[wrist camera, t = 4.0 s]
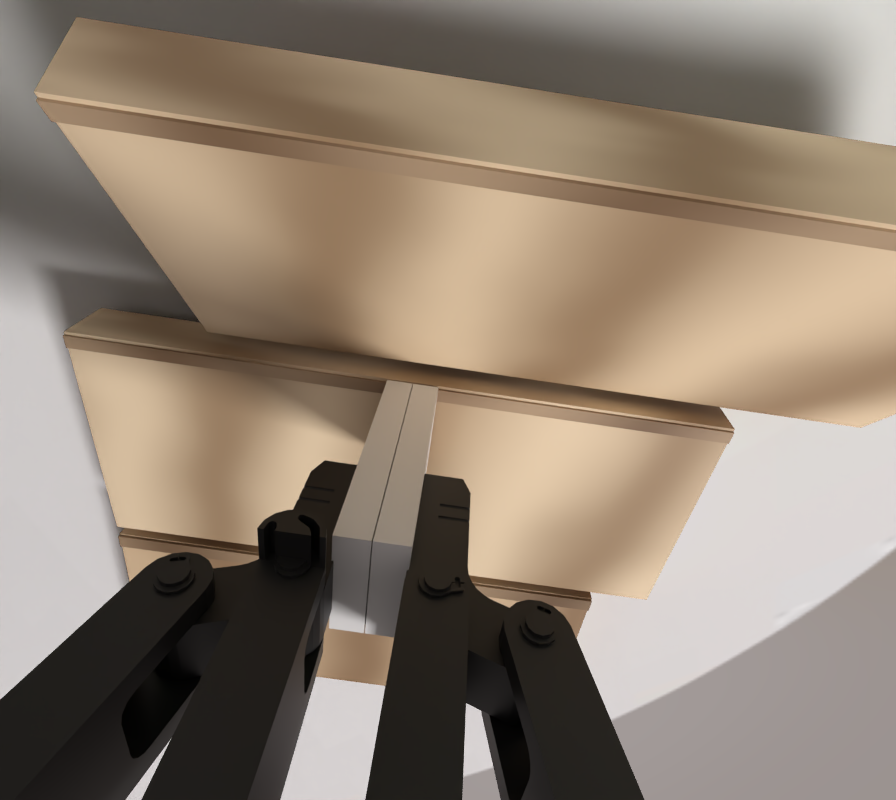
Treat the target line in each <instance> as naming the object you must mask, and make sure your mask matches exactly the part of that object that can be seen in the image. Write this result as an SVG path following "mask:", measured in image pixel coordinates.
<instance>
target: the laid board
mask: <svg viewBox="0 0 896 800" xmlns="http://www.w3.org/2000/svg"><path fill="white" fill-rule="evenodd" d="M118 538H119V542H120V546H121V547H123V552H124V557H125V562H126V567H127V571H128V576H129V581H131V580H132V579H133V578H134V577H135V576H136V575H137V574H138V573H139V572H141V571H142V570H143V569H144V568H145V567H146V566H148V565H149V564H151V563H152V562H154V561H155V560H156V559H158V558H161V557H164V556H166V555H169V554H172V553H180V552H190V553H196V554H200V555H202V556H203V557H205V558H206V559H208V560H209V561H210V563H211V565H212V567H213V568H220V567H229V566H237V565H242V564H247V563H250V562H253V561H255V560H258V559H259V551H258V546H254V545H247V544H240V543H232V542H225V541H218V540H211V539H203V538H196V537H189V536H182V535H175V534H167V533H160V532H153V531H146V530H138V529H131V528H124V529H123V530H122V532H121V533H120V535H119V536H118ZM469 576H470V579H471V581H472V583H473V584H474V585H475V587H476V588H477V589H478V590H479V591H480V592H481V593H482V594H484V595H485V596H486V597H488V598H490V599H492V600H493V601H496V602H498V603H500V604H502V605H505V606H507V607H509V608H510V607H511V606H513V605H514V604H515V603H516V602H520V601H524V600H537V601H542V602H544V603H547V604H549V605H551V606H554V607H555V608H556V609H557V610H558V611H560V612H561V613H562V614H563V615H564V616H565V617H566V619H567V621H568V622H569V624H570V625H571V627H572V629H573V632H574V634H575V636H576V638H577V636H578V633H579V630H580V628H581V625H582V623H583V620H584V617H585V615H586V612H587V611H588V610H589V608H590V605H591V602H592V601H591V594H590V592H587V591H580V590H573V589H565V588H558V587H551V586H544V585H536V584H529V583H522V582H515V581H507V580H500V579H493V578H486V577H478V576H471V575H469ZM365 627H366V625H365ZM393 641H394V637H387V636H380V635H373V634H366V633H365V630H364V633H359V632H352V631H344V630H337V629H330V628H329V620H328V623H327V626H326V630H325V633H324V643H323V654H322V657H321V661H320V664H319V667H318V671H317V674H316V677H324V678H331V679H339V680H346V681H354V682H361V683H369V684H376V685H384V686H386V681H387V675H388V669H389V664H390V658H391V653H392V647H393Z"/></svg>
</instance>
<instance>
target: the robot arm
mask: <svg viewBox="0 0 896 800" xmlns="http://www.w3.org/2000/svg"><path fill="white" fill-rule="evenodd" d="M437 394H438V387H432V386H425V385H419V384H413V387H412V383H405V382H398V381H391V380H387V382H386V385H385V388H384V391H383V394H382V396H381V399H380V402H379V405H378V408H377V411H376V413H375V416H374V419H373V422H372V425H371V428H370V430H369V433H368V436H367V439H366V442H365V445H364V447H363V450H362V453H361V456H360V459H359V462H358V464H357V465H354V464H347V463H340V462H333V461H326V460H325V461H323V462H322V463H321V464H320V465H318V466H317V467H316V468H315V469H313V470H312V471H311V472H310V475H309V477H308V479H307V481H306V483H305V485H304V488H303V489H302V491H301V494H300V496H299V499H298V500H297V502H296V504H295V506H294V508H293V510H286V511H282V512H278V513H275V514H273V515H271V516H270V517H268V518H266V519H264V521H263V522H262V523H261V524H260V525H259V527H258V528H257V533H258V551H259V559H258V560H255V561H253V562H250V563H247V564H242V565H237V566H229V567H220V568H213V567H212V565H211V563H210V561H209V560H208V559H206V558H205V557H203V556H202V555H200V554H196V553H190V552H180V553H172V554H169V555H166V556H164V557H161V558H158V559H156V560H155V561H154V562H152V563H151V564H149V565H148V566H146V567H145V568H144V569H143V570H142V571H141V572H139V573H138V574H137V575H136V576H135V577H134V578H133V579H132V580H131V581H130V582H128V583H127V584H126V585H125V586H124V587H123V588H122V589H121V590H120V591H119V592H118V593H116V594H115V595H114V596H113V597H112V598H111V599H110V600H109V601H108V602H107V603H106V604H104V605H103V606H102V607H101V608H100V609H99V610H98V611H97V612H96V613H95V614H93V615H92V616H91V617H90V618H89V619H88V620H87V621H86V622H85V623H84V624H83V625H81V626H80V627H79V628H78V629H77V630H76V631H75V632H74V633H73V634H72V635H71V636H69V637H68V638H67V639H66V640H65V641H64V642H63V643H62V644H61V645H60V646H58V647H57V648H56V649H55V650H54V651H53V652H52V653H51V654H50V655H49V656H48V657H46V658H45V659H44V660H43V661H42V662H41V663H40V664H39V665H38V666H37V667H36V668H34V669H33V670H32V671H31V672H30V673H29V674H28V675H27V676H26V677H25V678H23V679H22V680H21V681H20V682H19V683H18V684H17V685H16V686H15V687H14V688H13V689H11V690H10V691H9V692H8V693H7V694H6V695H5V696H4V697H3V698H2V699H1V700H0V800H125V799H126V798H127V797H128V795H129V794H130V793H131V791H132V790H133V789H134V787H135V786H136V785H137V783H138V782H139V781H140V779H141V778H142V777H143V775H144V774H145V773H146V771H147V770H148V769H149V767H150V766H151V765H152V763H153V762H154V761H155V759H156V758H157V757H158V755H159V754H160V753H161V751H162V750H163V749H164V747H165V746H166V745H167V743H168V742H169V741H170V742H169V745H168V747H167V749H166V751H165V753H164V755H163V757H162V759H161V761H160V763H159V765H158V767H157V769H156V771H155V773H154V775H153V777H152V779H151V781H150V783H149V786H148V788H147V790H146V792H145V794H144V796H143V798H142V800H280V798H281V795H282V792H283V788H284V785H285V781H286V778H287V774H288V771H289V767H290V764H291V761H292V757H293V754H294V750H295V747H296V743H297V740H298V736H299V733H300V730H301V726H302V723H303V719H304V716H305V712H306V709H307V705H308V702H309V698H310V695H311V692H312V688H313V685H314V681H315V678H316V674H317V671H318V667H319V664H320V661H321V657H322V654H323V643H324V633H325V630H326V626H327V623H328V620H329V628H330V629H337V630H344V631H352V632H359V633H364V630H365V633H366V634H373V635H380V636H387V637H394V641H393V647H392V653H391V658H390V664H389V669H388V675H387V681H386V686H385V692H384V698H383V703H382V709H381V715H380V720H379V726H378V732H377V737H376V743H375V749H374V754H373V760H372V766H371V771H370V777H369V782H368V788H367V794H366V799H365V800H462V789H463V763H464V737H465V711H466V703H467V704H469V705H471V706H473V707H475V708H477V709H479V710H481V711H482V717H483V722H484V726H485V731H486V735H487V740H488V744H489V749H490V753H491V758H492V762H493V766H494V770H495V775H496V780H497V784H498V789H499V793H500V798H501V800H644V798H643V795H642V793H641V790H640V788H639V786H638V783H637V781H636V779H635V776H634V774H633V772H632V769H631V767H630V765H629V762H628V760H627V757H626V755H625V753H624V750H623V748H622V746H621V744H620V741H619V739H618V736H617V734H616V731H615V729H614V727H613V724H612V722H611V719H610V717H609V715H608V712H607V710H606V708H605V705H604V703H603V700H602V698H601V696H600V693H599V691H598V689H597V686H596V684H595V681H594V679H593V677H592V674H591V672H590V670H589V667H588V665H587V663H586V660H585V658H584V655H583V653H582V651H581V648H580V646H579V644H578V641H577V639H576V636H575V634H574V632H573V629H572V627H571V625H570V624H569V622H568V621H567V619H566V617H565V616H564V615H563V614H562V613H561V612H560V611H558V610H557V609H556V608H555V607H554V606H551V605H549V604H547V603H544V602H542V601H537V600H524V601H520V602H516V603H515V604H514V605H513V606H511V607H510V608H509V607H507V606H505V605H502V604H500V603H498V602H496V601H493V600H492V599H490V598H488V597H486V596H485V595H484V594H482V593H481V592H480V591H479V590H478V589H477V588H476V587H475V585H474V584H473V583H472V581H471V579H470V576H469V573H468V548H469V520H470V496H471V493H470V491H469V489H468V487H467V485H466V484H465V482H464V480H463V479H459V478H452V477H445V476H439V475H432V474H426V471H427V464H428V458H429V451H430V444H431V437H432V429H433V422H434V415H435V408H436V401H437ZM365 625H366V627H365ZM170 739H171V740H170Z"/></svg>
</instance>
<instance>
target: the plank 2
mask: <svg viewBox="0 0 896 800" xmlns="http://www.w3.org/2000/svg"><path fill="white" fill-rule="evenodd" d="M63 338H64V342H65V345H66V348H68V349H69V353H70V357H71V360H72V364H73V368H74V371H75V375H76V378H77V382H78V386H79V389H80V393H81V397H82V400H83V404H84V408H85V411H86V415H87V418H88V422H89V426H90V429H91V433H92V437H93V440H94V444H95V448H96V451H97V455H98V459H99V462H100V466H101V469H102V473H103V477H104V480H105V484H106V488H107V491H108V495H109V499H110V502H111V506H112V509H113V513H114V517H115V520H116V524H117V527H124V528H131V529H138V530H146V531H153V532H160V533H167V534H175V535H182V536H189V537H196V538H203V539H211V540H218V541H225V542H232V543H240V544H247V545H254V546H258V533H257V528H258V527H259V525H260V524H261V523H262V522H263V521H264V519H266V518H268V517H270V516H271V515H273V514H275V513H278V512H282V511H286V510H293V508H294V506H295V504H296V502H297V500H298V499H299V496H300V494H301V491H302V489H303V488H304V485H305V483H306V481H307V479H308V477H309V475H310V472H311V471H312V470H313V469H315V468H316V467H317V466H318V465H320V464H321V463H322V462H323V461H325V460H326V461H333V462H340V463H347V464H354V465H357V464H358V462H359V459H360V456H361V453H362V450H363V447H364V445H365V442H366V439H367V436H368V433H369V430H370V428H371V425H372V422H373V419H374V416H375V413H376V411H377V408H378V405H379V402H380V399H381V396H382V394H383V391H384V388H385V385H386V382H387V380H391V381H398V382H405V383H412V387H413V384H419V385H425V386H432V387H438V394H437V401H436V408H435V415H434V422H433V429H432V437H431V444H430V451H429V458H428V464H427V471H426V474H432V475H439V476H445V477H452V478H459V479H463V480H464V482H465V484H466V485H467V487H468V489H469V491H470V493H471V496H470V520H469V548H468V573H469V575H471V576H478V577H486V578H493V579H500V580H507V581H515V582H522V583H529V584H536V585H544V586H551V587H558V588H565V589H573V590H580V591H587V592H594V593H602V594H609V595H616V596H623V597H630V598H638V599H645V600H647V598H648V596H649V594H650V592H651V590H652V588H653V586H654V584H655V582H656V580H657V578H658V577H659V575H660V573H661V571H662V569H663V567H664V565H665V563H666V561H667V559H668V557H669V555H670V553H671V551H672V549H673V547H674V546H675V544H676V542H677V540H678V538H679V536H680V534H681V532H682V530H683V528H684V526H685V524H686V522H687V520H688V518H689V516H690V515H691V513H692V511H693V509H694V507H695V505H696V503H697V501H698V499H699V497H700V495H701V493H702V491H703V489H704V487H705V486H706V484H707V482H708V480H709V478H710V476H711V474H712V472H713V470H714V468H715V466H716V464H717V462H718V460H719V458H720V456H721V455H722V453H723V451H724V449H725V447H726V445H727V444H729V442H730V440H731V438H732V436H733V434H734V432H733V431H734V428H733V426H732V425H731V423H730V422H729V420H728V419H727V417H726V416H725V414H724V413H723V412H722V410H721V409H720V407H716V406H709V405H703V404H696V403H689V402H682V401H675V400H668V399H662V398H655V397H648V396H641V395H634V394H627V393H621V392H614V391H607V390H600V389H593V388H586V387H580V386H573V385H566V384H559V383H552V382H545V381H539V380H532V379H525V378H518V377H511V376H504V375H498V374H491V373H484V372H477V371H470V370H463V369H457V368H450V367H443V366H436V365H429V364H422V363H416V362H409V361H402V360H395V359H388V358H381V357H375V356H368V355H361V354H354V353H347V352H340V351H334V350H327V349H320V348H313V347H306V346H300V345H293V344H286V343H279V342H272V341H265V340H259V339H252V338H245V337H238V336H231V335H224V334H218V333H211V332H207V331H206V329H205V328H204V327H203V325H202V324H201V323H200V322H194V321H187V320H180V319H174V318H167V317H160V316H153V315H146V314H140V313H133V312H126V311H119V310H112V309H106V308H100V309H98V310H97V311H95V312H94V313H92V314H91V315H89V316H87V317H86V318H84V319H83V320H81V321H79V322H78V323H76V324H75V325H73V326H72V327H70V328H68V329H67V330H65V331H64V335H63Z"/></svg>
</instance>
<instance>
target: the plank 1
mask: <svg viewBox="0 0 896 800" xmlns="http://www.w3.org/2000/svg"><path fill="white" fill-rule="evenodd" d="M34 93H35V94H36V96H37V97H38V98H37V99H36V101H37V103H38V104H39V105H40V107H41V108H42V109H43V111H44V112H45V113H46V115H47V116H48V118H49V119H50V120H51V121H52V122H56V123H57V125H58V126H59V127H60V129H61V130H62V132H63V133H64V134H65V136H66V137H67V138H68V140H69V141H70V143H71V144H72V145H73V147H74V148H75V150H76V151H77V152H78V154H79V155H80V156H81V158H82V159H83V161H84V162H85V163H86V165H87V166H88V168H89V169H90V170H91V172H92V173H93V174H94V176H95V177H96V179H97V180H98V181H99V183H100V184H101V186H102V187H103V188H104V190H105V191H106V192H107V194H108V195H109V197H110V198H111V199H112V201H113V202H114V204H115V205H116V206H117V208H118V209H119V210H120V212H121V213H122V215H123V216H124V217H125V219H126V220H127V222H128V223H129V224H130V226H131V227H132V228H133V230H134V231H135V233H136V234H137V235H138V237H139V238H140V240H141V241H142V242H143V244H144V245H145V246H146V248H147V249H148V251H149V252H150V253H151V255H152V256H153V258H154V259H155V260H156V262H157V263H158V264H159V266H160V267H161V269H162V270H163V271H164V273H165V274H166V276H167V277H168V278H169V280H170V281H171V282H172V284H173V285H174V287H175V288H176V289H177V291H178V292H179V294H180V295H181V296H182V298H183V299H184V300H185V302H186V303H187V305H188V306H189V307H190V309H191V310H192V311H193V313H194V314H195V316H196V317H197V318H198V320H199V321H200V323H201V324H202V325H203V327H204V328H205V329H206V331H207V332H211V333H218V334H224V335H231V336H238V337H245V338H252V339H259V340H265V341H272V342H279V343H286V344H293V345H300V346H306V347H313V348H320V349H327V350H334V351H340V352H347V353H354V354H361V355H368V356H375V357H381V358H388V359H395V360H402V361H409V362H416V363H422V364H429V365H436V366H443V367H450V368H457V369H463V370H470V371H477V372H484V373H491V374H498V375H504V376H511V377H518V378H525V379H532V380H539V381H545V382H552V383H559V384H566V385H573V386H580V387H586V388H593V389H600V390H607V391H614V392H621V393H627V394H634V395H641V396H648V397H655V398H662V399H668V400H675V401H682V402H689V403H696V404H703V405H709V406H716V407H723V408H730V409H737V410H743V411H750V412H757V413H764V414H771V415H778V416H784V417H791V418H798V419H805V420H812V421H819V422H825V423H832V424H839V425H846V426H853V427H860V428H861V427H864V426H866V425H869V424H871V423H874V422H877V421H879V420H882V419H884V418H887V417H889V416H892V415H894V414H896V146H890V145H883V144H877V143H871V142H864V141H858V140H852V139H846V138H839V137H833V136H827V135H820V134H814V133H808V132H801V131H795V130H789V129H782V128H776V127H770V126H763V125H757V124H751V123H744V122H738V121H732V120H725V119H719V118H713V117H706V116H700V115H694V114H687V113H681V112H675V111H668V110H662V109H656V108H649V107H643V106H637V105H630V104H624V103H618V102H611V101H605V100H599V99H593V98H586V97H580V96H574V95H567V94H561V93H555V92H548V91H542V90H536V89H529V88H523V87H517V86H510V85H504V84H498V83H491V82H485V81H479V80H472V79H466V78H460V77H453V76H447V75H441V74H434V73H428V72H422V71H415V70H409V69H403V68H396V67H390V66H384V65H377V64H371V63H365V62H358V61H352V60H346V59H339V58H333V57H327V56H321V55H314V54H308V53H302V52H295V51H289V50H283V49H276V48H270V47H264V46H257V45H251V44H245V43H238V42H232V41H226V40H219V39H213V38H207V37H200V36H194V35H188V34H181V33H175V32H169V31H162V30H156V29H150V28H143V27H137V26H131V25H124V24H118V23H112V22H105V21H99V20H93V19H86V18H80V17H76V19H75V21H74V22H73V24H72V26H71V28H70V29H69V31H68V33H67V35H66V36H65V38H64V40H63V42H62V43H61V45H60V47H59V49H58V50H57V52H56V54H55V55H54V57H53V59H52V61H51V62H50V64H49V66H48V68H47V69H46V71H45V73H44V75H43V76H42V78H41V80H40V82H39V83H38V85H37V87H36V89H35V90H34Z"/></svg>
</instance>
